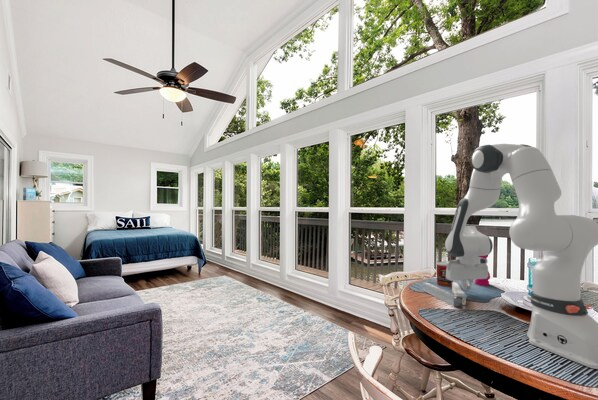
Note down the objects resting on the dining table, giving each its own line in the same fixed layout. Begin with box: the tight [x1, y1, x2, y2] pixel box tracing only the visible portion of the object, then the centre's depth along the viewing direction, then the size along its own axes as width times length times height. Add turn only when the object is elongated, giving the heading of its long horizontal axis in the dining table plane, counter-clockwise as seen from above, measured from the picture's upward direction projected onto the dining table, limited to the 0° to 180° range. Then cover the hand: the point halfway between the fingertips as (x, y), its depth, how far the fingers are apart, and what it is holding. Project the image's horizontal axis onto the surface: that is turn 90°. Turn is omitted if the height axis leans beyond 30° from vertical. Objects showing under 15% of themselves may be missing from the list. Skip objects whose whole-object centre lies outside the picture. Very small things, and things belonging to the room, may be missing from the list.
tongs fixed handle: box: [422, 282, 463, 309], centre depth 128 cm, size 24×3×4 cm, turn 10°
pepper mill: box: [474, 254, 491, 287], centre depth 150 cm, size 7×7×20 cm
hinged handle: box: [451, 281, 468, 306], centre depth 127 cm, size 24×4×5 cm, turn 160°
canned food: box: [436, 261, 454, 287], centre depth 151 cm, size 8×8×11 cm
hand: (467, 288), depth 133 cm, fingers closed
